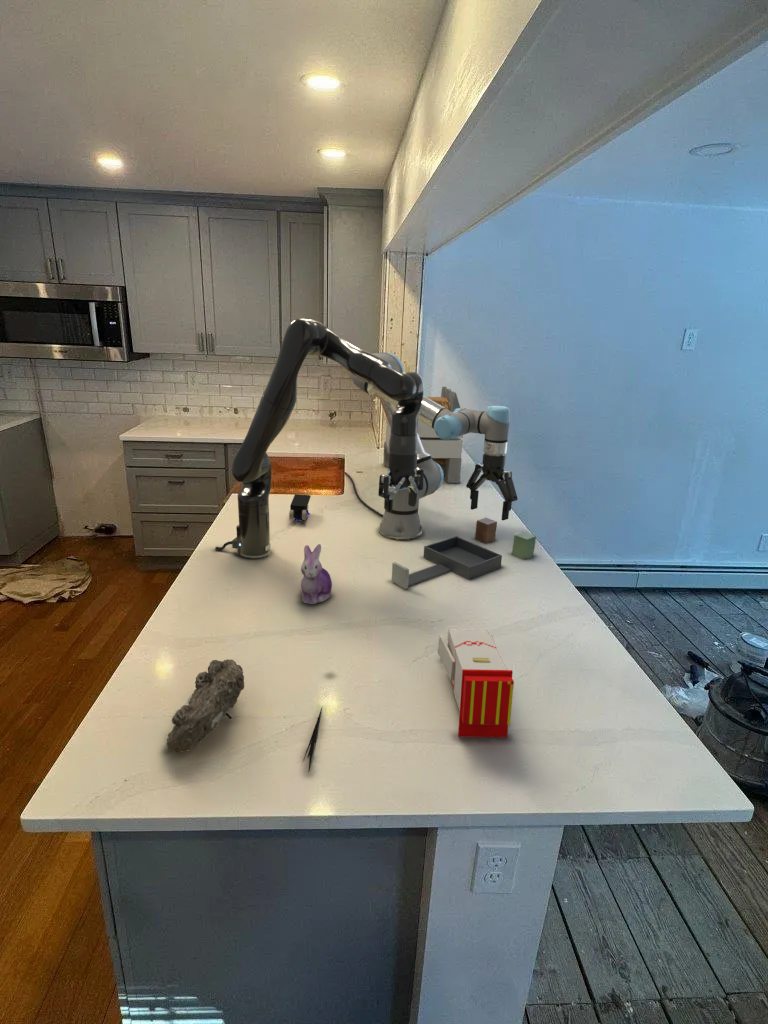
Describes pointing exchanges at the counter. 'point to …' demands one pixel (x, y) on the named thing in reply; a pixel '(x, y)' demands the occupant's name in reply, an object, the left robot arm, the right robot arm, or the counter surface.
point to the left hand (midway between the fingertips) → (400, 508)
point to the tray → (449, 562)
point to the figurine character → (299, 507)
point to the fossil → (206, 705)
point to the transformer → (438, 441)
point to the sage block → (523, 545)
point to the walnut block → (486, 530)
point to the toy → (478, 682)
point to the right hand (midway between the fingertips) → (488, 514)
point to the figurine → (314, 578)
